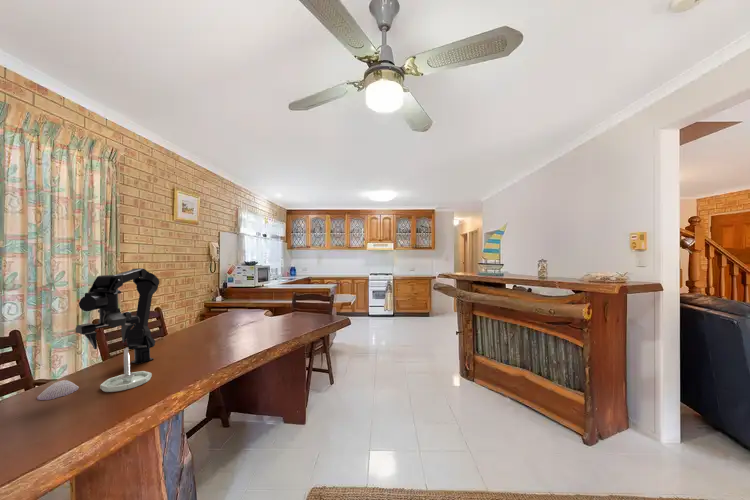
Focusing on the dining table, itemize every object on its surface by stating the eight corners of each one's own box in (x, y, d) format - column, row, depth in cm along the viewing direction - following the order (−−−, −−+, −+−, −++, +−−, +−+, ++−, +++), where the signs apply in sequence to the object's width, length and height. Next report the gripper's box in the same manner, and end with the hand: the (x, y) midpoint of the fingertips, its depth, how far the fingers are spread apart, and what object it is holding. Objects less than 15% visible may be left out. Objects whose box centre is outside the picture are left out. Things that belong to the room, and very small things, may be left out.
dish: (94, 387, 112) (93, 383, 112) (138, 373, 125) (138, 369, 125) (113, 394, 106) (113, 390, 106) (158, 378, 119) (158, 374, 119)
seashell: (83, 376, 116) (73, 379, 108) (82, 391, 115) (72, 396, 107) (46, 382, 112) (32, 386, 103) (44, 398, 110) (30, 403, 102)
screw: (136, 377, 119) (134, 382, 115) (120, 381, 116) (117, 385, 112) (135, 344, 119) (133, 347, 115) (119, 347, 116) (116, 350, 112)
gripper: (88, 312, 110) (89, 355, 110) (146, 303, 126) (147, 341, 126) (74, 310, 115) (75, 352, 114) (131, 302, 131) (133, 338, 131)
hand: (110, 345), depth 121 cm, fingers open, 9 cm apart
